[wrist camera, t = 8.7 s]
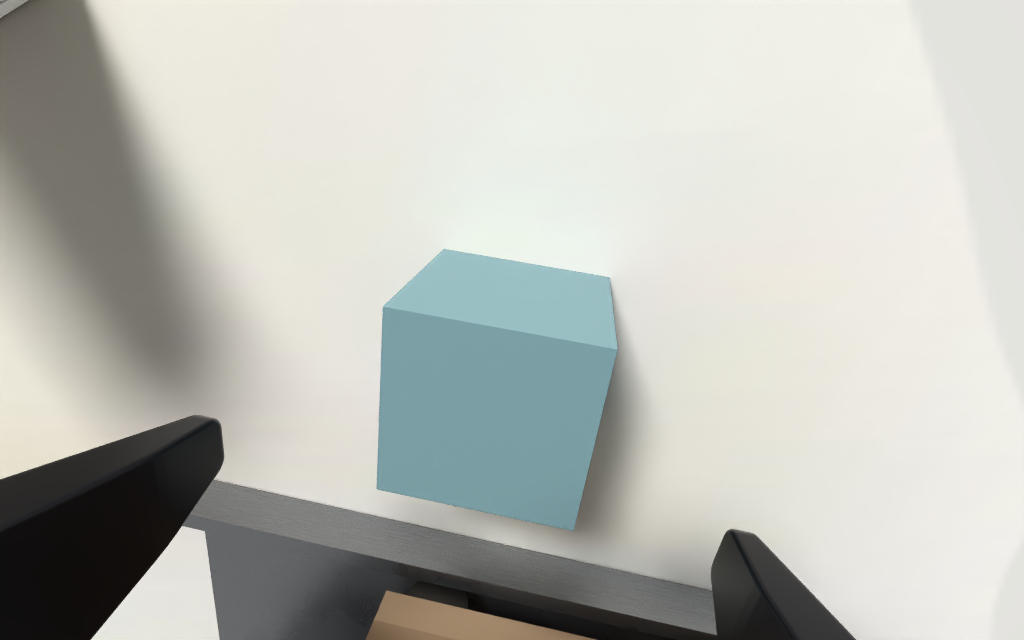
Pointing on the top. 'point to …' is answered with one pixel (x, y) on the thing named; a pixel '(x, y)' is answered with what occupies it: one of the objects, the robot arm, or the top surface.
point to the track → (410, 576)
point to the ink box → (9, 6)
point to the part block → (494, 386)
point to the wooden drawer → (448, 619)
